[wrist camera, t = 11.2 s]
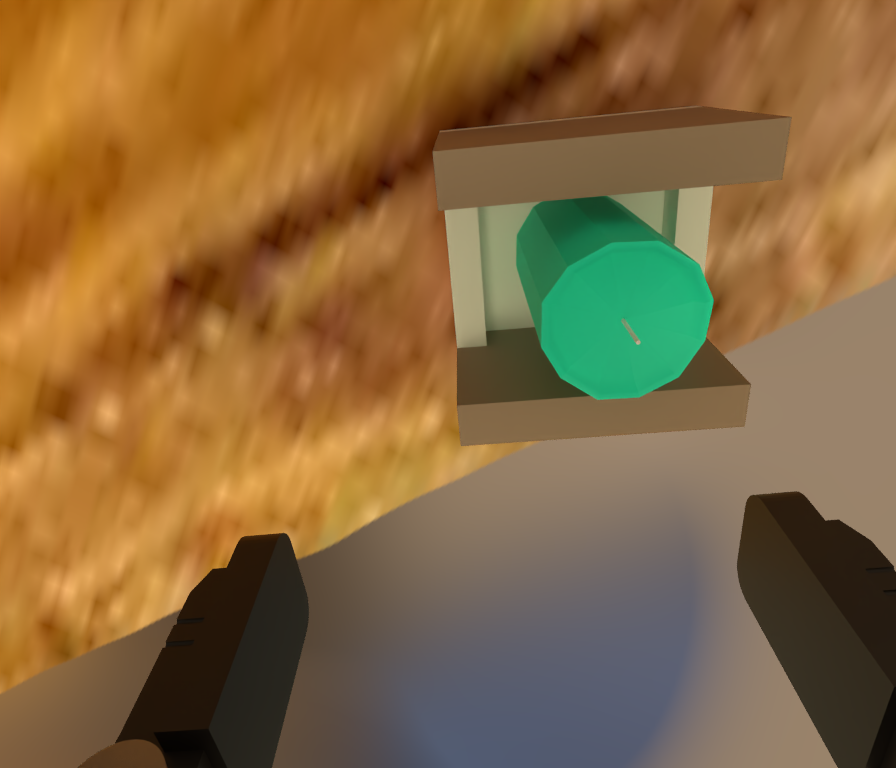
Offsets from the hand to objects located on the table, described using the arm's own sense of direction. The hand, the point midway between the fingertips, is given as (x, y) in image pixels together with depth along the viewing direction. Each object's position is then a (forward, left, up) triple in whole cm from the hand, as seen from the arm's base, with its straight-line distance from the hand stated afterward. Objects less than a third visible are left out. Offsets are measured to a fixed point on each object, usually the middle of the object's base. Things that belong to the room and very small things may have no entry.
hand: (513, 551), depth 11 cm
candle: (+1, +5, -22) cm, 23 cm away
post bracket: (+1, +5, -23) cm, 23 cm away
